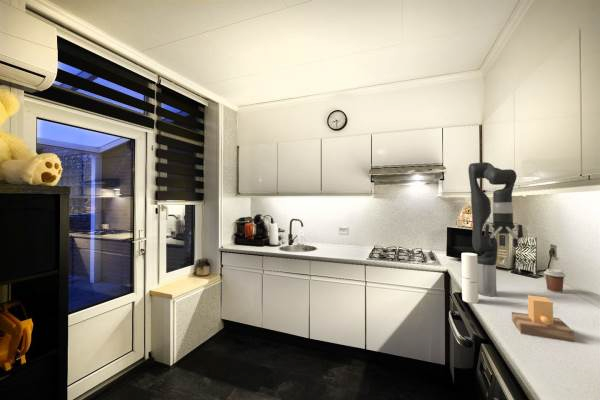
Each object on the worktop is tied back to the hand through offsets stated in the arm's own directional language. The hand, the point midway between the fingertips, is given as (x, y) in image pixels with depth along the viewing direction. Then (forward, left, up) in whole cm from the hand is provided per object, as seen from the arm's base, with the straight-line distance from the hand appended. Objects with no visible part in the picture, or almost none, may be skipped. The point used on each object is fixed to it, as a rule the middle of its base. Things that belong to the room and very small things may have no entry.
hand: (503, 246), depth 124 cm
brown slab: (+13, +9, -32) cm, 36 cm away
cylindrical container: (-13, -12, -32) cm, 37 cm away
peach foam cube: (+14, +9, -28) cm, 33 cm away
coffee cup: (-46, +34, -32) cm, 66 cm away
